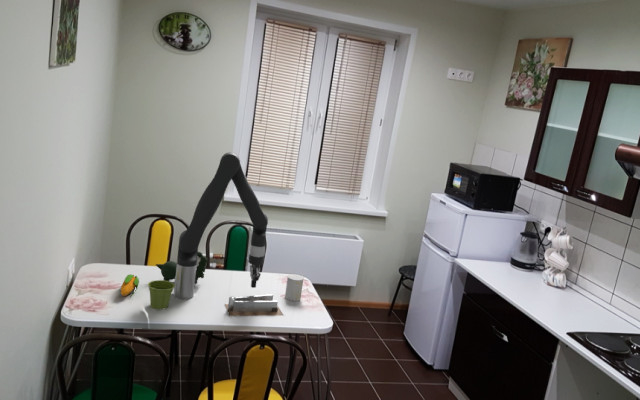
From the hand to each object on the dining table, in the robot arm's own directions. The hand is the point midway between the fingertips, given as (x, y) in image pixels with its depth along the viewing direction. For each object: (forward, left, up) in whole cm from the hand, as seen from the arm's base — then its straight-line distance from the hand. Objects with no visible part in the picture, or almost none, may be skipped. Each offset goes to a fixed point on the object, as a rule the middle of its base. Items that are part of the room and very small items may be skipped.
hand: (253, 287), depth 268 cm
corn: (-57, +12, -8) cm, 59 cm away
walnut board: (-1, -11, -8) cm, 14 cm away
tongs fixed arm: (-2, -12, -7) cm, 14 cm away
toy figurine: (-32, +25, -8) cm, 42 cm away
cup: (+23, +4, -8) cm, 24 cm away
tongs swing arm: (-1, -7, -7) cm, 10 cm away
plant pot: (-44, -6, -8) cm, 46 cm away
